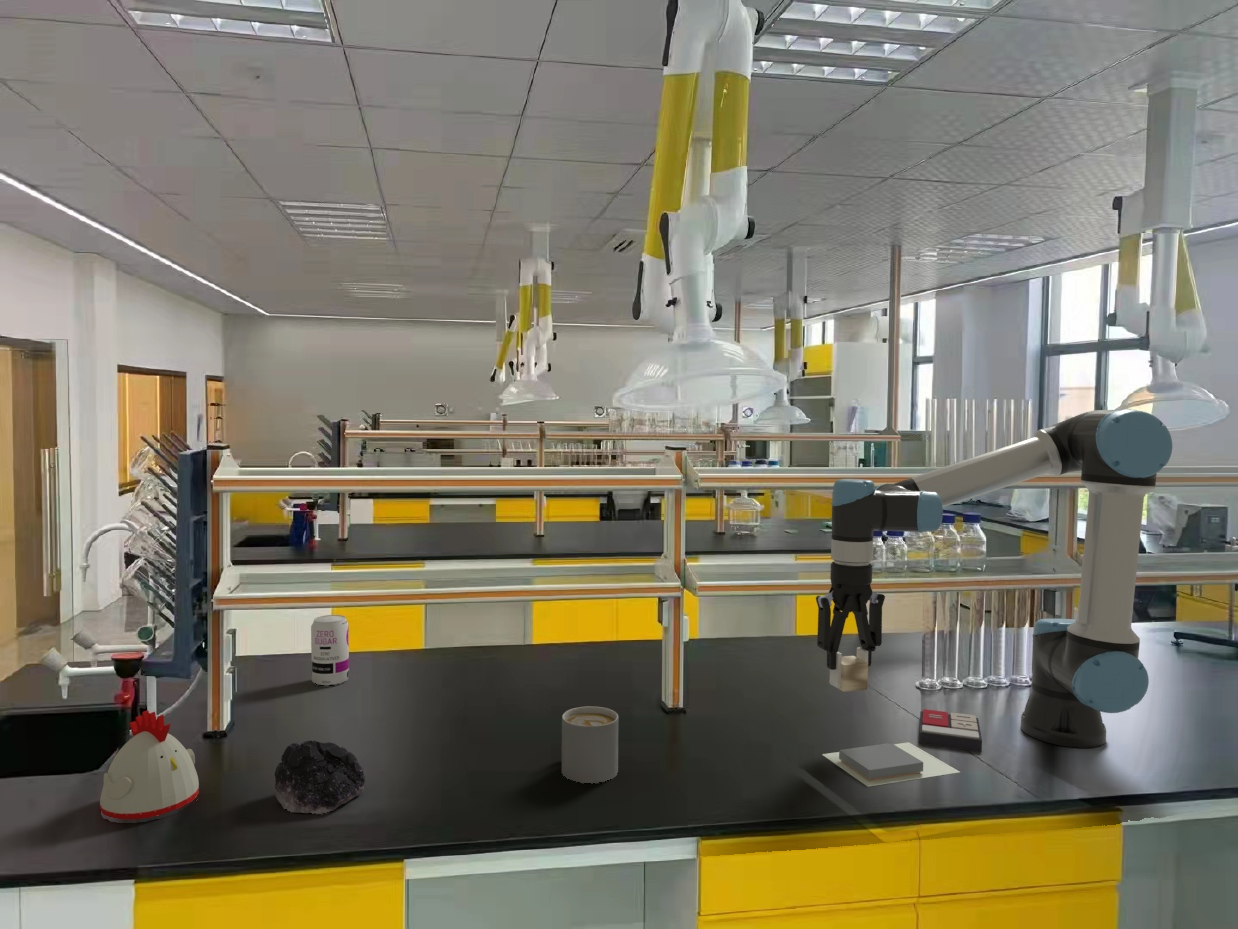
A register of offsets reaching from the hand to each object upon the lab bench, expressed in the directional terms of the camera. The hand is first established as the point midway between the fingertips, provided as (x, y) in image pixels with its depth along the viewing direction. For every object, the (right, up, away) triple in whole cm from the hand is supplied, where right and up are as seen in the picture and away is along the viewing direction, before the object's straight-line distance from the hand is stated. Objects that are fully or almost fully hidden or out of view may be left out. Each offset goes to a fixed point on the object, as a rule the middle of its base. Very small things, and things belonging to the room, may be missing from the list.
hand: (848, 684), depth 158 cm
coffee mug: (-49, -13, -8) cm, 51 cm away
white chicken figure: (-118, -13, -23) cm, 121 cm away
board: (+5, -13, -8) cm, 16 cm away
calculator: (+22, -13, +7) cm, 26 cm away
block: (0, 0, 0) cm, 0 cm away
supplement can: (-111, -10, +38) cm, 118 cm away
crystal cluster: (-92, -13, -21) cm, 95 cm away
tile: (+8, -11, -8) cm, 16 cm away
